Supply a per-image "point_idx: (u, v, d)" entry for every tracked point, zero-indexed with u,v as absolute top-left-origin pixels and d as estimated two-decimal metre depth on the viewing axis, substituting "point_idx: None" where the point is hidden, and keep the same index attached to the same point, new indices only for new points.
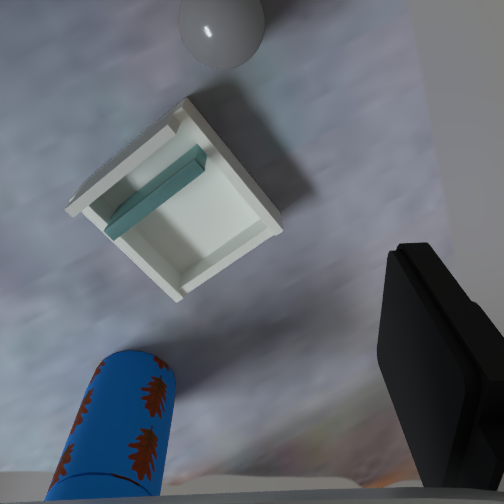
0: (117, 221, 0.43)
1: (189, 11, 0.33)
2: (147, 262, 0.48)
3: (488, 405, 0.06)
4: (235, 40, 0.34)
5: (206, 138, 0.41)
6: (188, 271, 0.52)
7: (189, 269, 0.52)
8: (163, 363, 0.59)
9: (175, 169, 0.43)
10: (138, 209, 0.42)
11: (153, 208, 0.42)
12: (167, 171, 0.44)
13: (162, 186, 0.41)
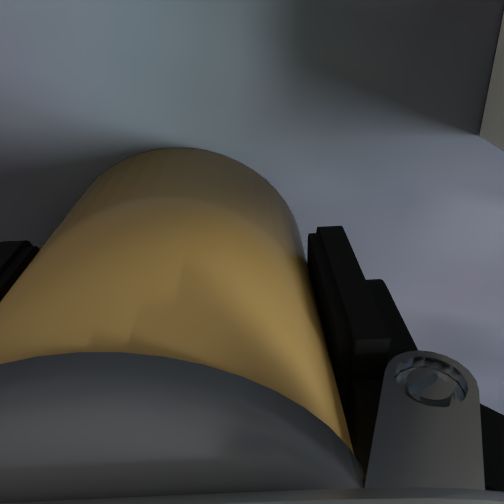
0: None
1: None
2: None
3: (359, 363, 0.07)
4: None
5: None
6: None
7: None
8: None
9: None
10: None
11: None
12: None
13: None
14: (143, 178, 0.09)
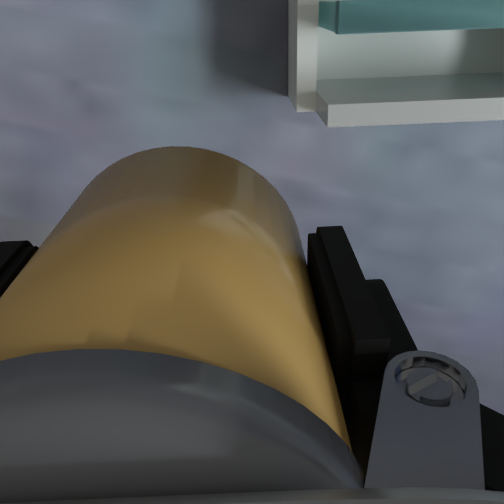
0: None
1: None
2: None
3: (359, 363, 0.07)
4: None
5: (299, 40, 0.23)
6: None
7: None
8: None
9: None
10: (498, 18, 0.20)
11: None
12: None
13: (424, 28, 0.21)
14: (142, 176, 0.09)
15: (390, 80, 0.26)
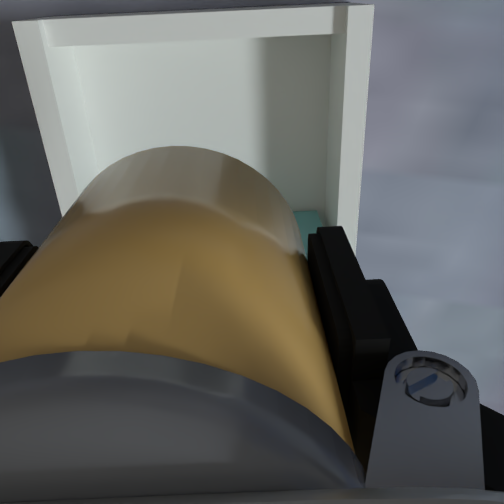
0: None
1: None
2: (341, 145, 0.21)
3: (359, 363, 0.07)
4: None
5: None
6: None
7: None
8: None
9: None
10: None
11: None
12: None
13: None
14: (142, 176, 0.09)
15: None
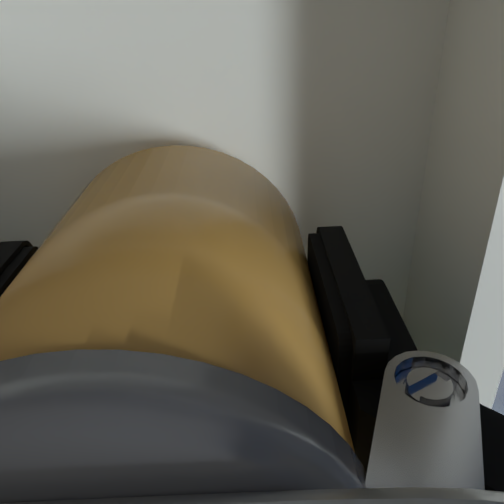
0: None
1: None
2: None
3: (359, 363, 0.07)
4: None
5: None
6: None
7: None
8: None
9: None
10: None
11: None
12: None
13: None
14: (142, 175, 0.09)
15: None
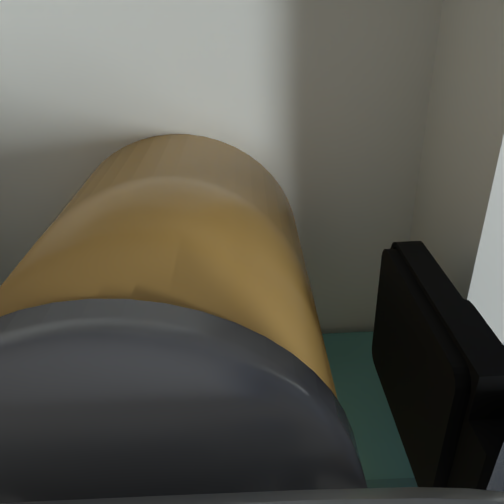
0: None
1: None
2: (497, 149, 0.08)
3: (478, 401, 0.06)
4: (88, 477, 0.05)
5: None
6: None
7: None
8: None
9: None
10: None
11: None
12: None
13: None
14: (145, 160, 0.10)
15: None
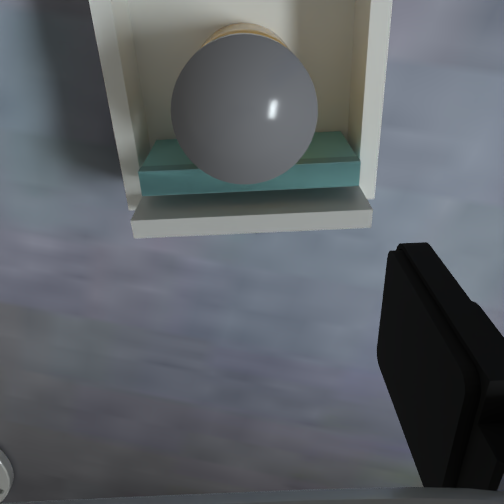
0: (325, 185, 0.24)
1: (277, 159, 0.21)
2: (369, 13, 0.22)
3: (488, 405, 0.06)
4: (240, 79, 0.19)
5: (119, 152, 0.25)
6: None
7: None
8: None
9: None
10: (278, 182, 0.24)
11: None
12: None
13: (216, 190, 0.24)
14: (235, 26, 0.24)
15: None
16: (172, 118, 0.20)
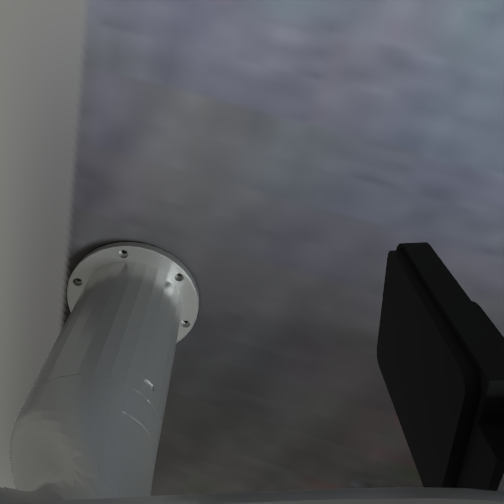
0: None
1: None
2: None
3: (488, 405, 0.06)
4: None
5: None
6: None
7: None
8: None
9: None
10: None
11: None
12: None
13: None
14: None
15: None
16: None
